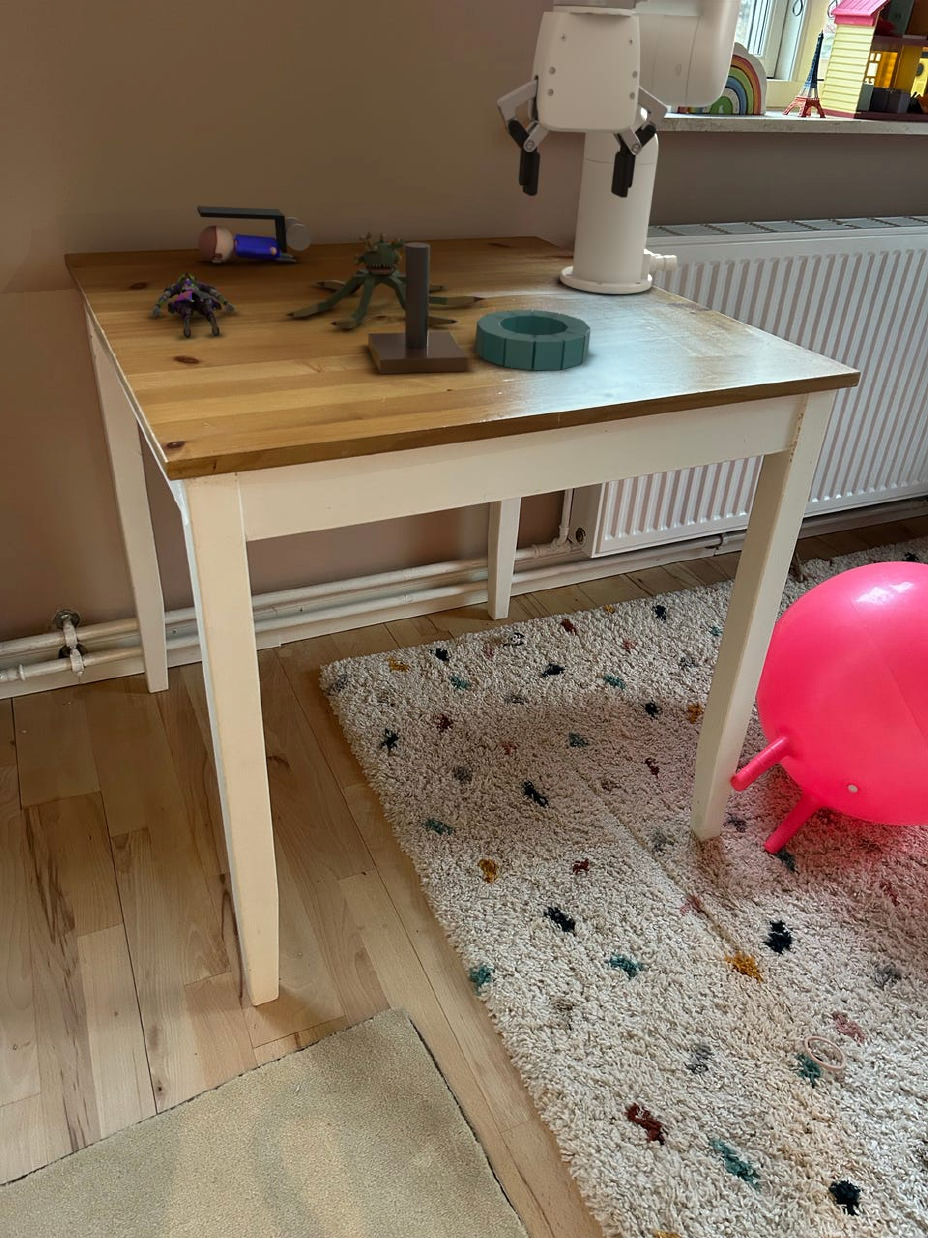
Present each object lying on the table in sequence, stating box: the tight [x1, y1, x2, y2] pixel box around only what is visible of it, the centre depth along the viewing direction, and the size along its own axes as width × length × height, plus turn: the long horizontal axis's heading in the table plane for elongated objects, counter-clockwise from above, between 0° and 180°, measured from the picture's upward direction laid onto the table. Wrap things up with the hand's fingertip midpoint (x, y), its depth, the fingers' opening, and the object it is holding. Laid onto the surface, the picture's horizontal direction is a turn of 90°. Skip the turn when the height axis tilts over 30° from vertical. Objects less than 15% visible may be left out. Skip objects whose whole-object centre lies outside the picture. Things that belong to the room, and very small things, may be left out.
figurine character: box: [196, 205, 312, 264], centre depth 133 cm, size 7×8×15 cm
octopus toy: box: [285, 231, 487, 330], centre depth 115 cm, size 25×20×9 cm
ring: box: [475, 309, 591, 371], centre depth 104 cm, size 12×12×3 cm
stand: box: [367, 241, 469, 375], centre depth 98 cm, size 9×9×12 cm
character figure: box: [151, 272, 236, 339], centre depth 110 cm, size 9×4×16 cm
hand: (574, 194), depth 98 cm, fingers open, 9 cm apart
